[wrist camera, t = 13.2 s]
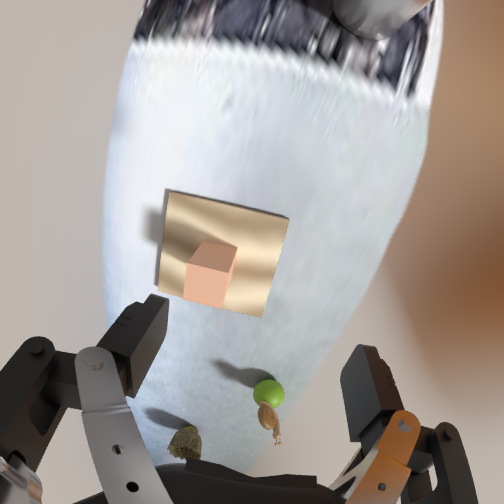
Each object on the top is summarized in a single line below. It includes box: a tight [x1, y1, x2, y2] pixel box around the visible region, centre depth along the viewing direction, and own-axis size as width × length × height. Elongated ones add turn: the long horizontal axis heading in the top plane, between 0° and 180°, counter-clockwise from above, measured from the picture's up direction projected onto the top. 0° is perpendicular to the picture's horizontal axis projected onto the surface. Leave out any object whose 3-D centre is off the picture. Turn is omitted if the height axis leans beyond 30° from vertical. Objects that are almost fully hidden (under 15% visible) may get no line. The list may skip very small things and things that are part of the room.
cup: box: [167, 425, 202, 461], centre depth 51 cm, size 8×7×8 cm
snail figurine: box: [253, 380, 284, 446], centre depth 42 cm, size 5×6×12 cm
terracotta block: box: [183, 240, 238, 309], centre depth 34 cm, size 5×5×8 cm
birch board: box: [158, 192, 290, 317], centre depth 39 cm, size 15×16×1 cm
